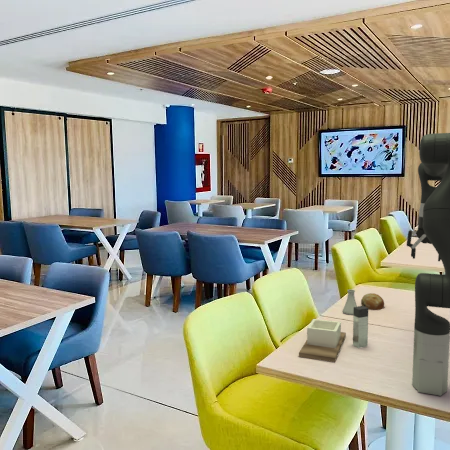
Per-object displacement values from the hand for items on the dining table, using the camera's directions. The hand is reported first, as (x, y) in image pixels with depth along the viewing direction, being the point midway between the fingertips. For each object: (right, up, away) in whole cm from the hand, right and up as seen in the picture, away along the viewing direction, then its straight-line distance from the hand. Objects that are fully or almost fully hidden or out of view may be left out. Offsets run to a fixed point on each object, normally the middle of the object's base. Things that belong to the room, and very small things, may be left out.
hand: (426, 259), depth 166 cm
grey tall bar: (-26, -30, -6) cm, 41 cm away
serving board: (-39, -30, -6) cm, 50 cm away
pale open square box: (-39, -29, -5) cm, 49 cm away
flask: (-20, -26, +30) cm, 44 cm away
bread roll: (-8, -25, +38) cm, 45 cm away
